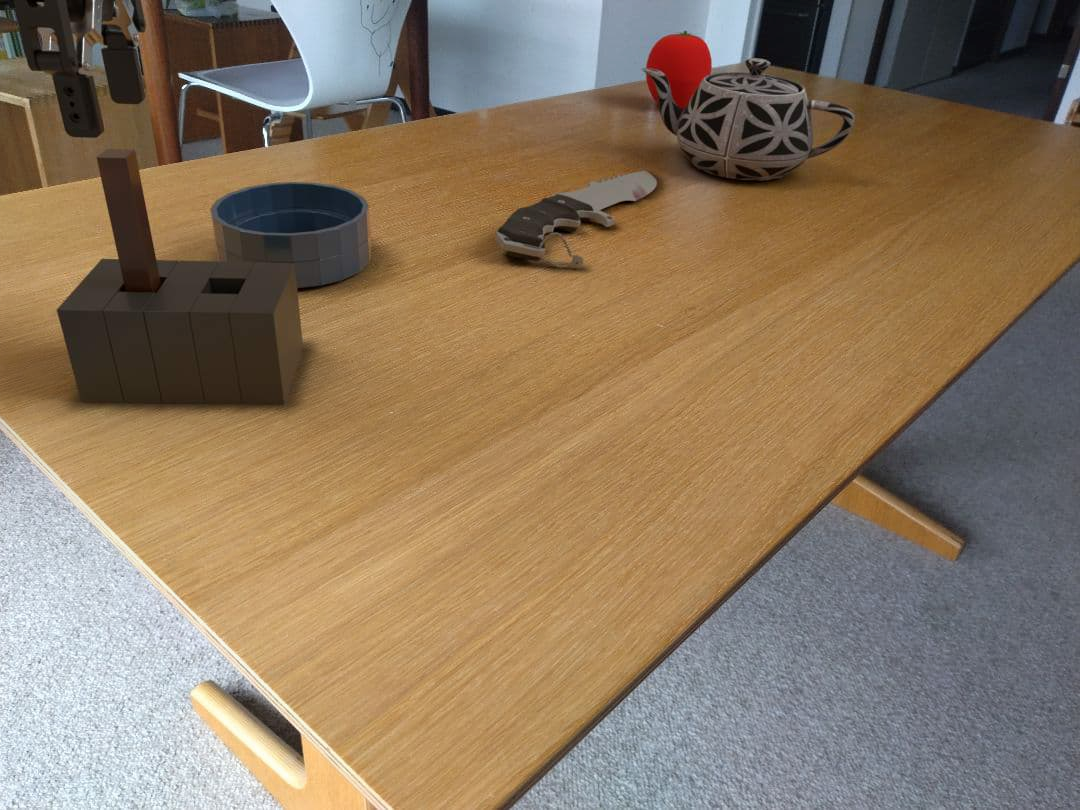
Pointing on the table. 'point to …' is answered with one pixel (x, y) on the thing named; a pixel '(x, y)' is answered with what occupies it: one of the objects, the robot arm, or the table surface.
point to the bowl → (295, 229)
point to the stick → (129, 219)
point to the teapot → (747, 123)
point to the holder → (185, 334)
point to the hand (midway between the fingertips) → (109, 118)
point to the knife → (568, 215)
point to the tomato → (680, 65)
